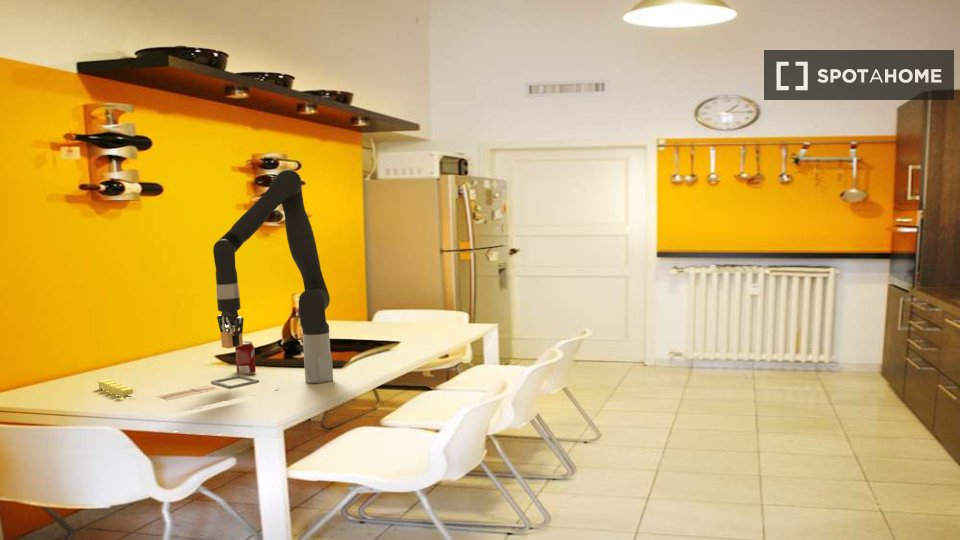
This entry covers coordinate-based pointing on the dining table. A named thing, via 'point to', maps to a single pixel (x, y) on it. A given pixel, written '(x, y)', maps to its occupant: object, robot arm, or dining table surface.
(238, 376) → the tray
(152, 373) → the dining table surface
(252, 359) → the soda can
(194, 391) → the wooden board
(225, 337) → the block
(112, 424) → the dining table surface
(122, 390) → the yellow flower cubes
